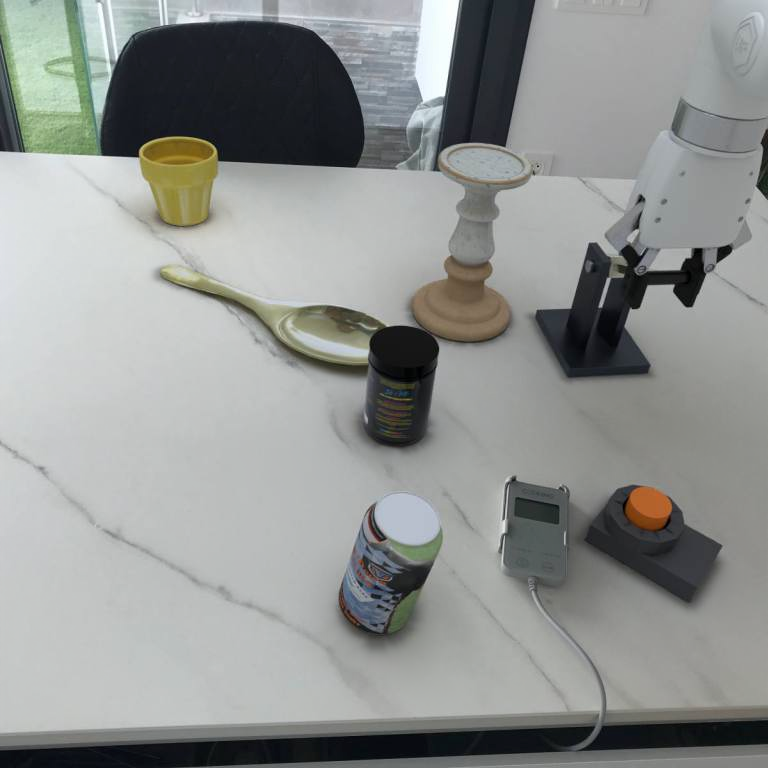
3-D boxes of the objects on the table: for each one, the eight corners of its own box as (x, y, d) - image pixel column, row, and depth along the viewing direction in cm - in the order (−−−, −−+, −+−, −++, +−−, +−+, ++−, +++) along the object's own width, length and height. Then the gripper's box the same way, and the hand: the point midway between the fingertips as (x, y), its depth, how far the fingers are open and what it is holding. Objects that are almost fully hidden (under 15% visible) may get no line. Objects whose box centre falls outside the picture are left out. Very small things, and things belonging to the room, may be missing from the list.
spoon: (135, 298, 97) (132, 284, 96) (193, 264, 105) (191, 250, 103) (373, 390, 83) (373, 374, 82) (420, 343, 91) (421, 328, 89)
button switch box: (715, 559, 70) (731, 530, 67) (688, 605, 66) (703, 576, 63) (614, 502, 74) (626, 473, 72) (583, 541, 70) (593, 512, 68)
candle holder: (505, 351, 92) (539, 193, 79) (403, 332, 93) (421, 175, 80) (512, 296, 101) (544, 148, 88) (420, 280, 103) (438, 132, 90)
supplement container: (434, 446, 78) (447, 365, 72) (369, 452, 77) (376, 370, 70) (419, 402, 83) (429, 323, 77) (357, 407, 82) (363, 327, 75)
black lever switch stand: (647, 373, 91) (682, 279, 82) (567, 377, 89) (595, 281, 81) (608, 314, 100) (636, 225, 92) (534, 317, 98) (556, 226, 90)
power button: (672, 514, 69) (678, 501, 68) (655, 538, 66) (662, 524, 65) (635, 493, 70) (640, 480, 69) (617, 516, 68) (623, 502, 67)
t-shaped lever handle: (690, 290, 77) (692, 265, 76) (643, 291, 76) (645, 266, 75) (626, 274, 89) (628, 253, 89) (586, 275, 88) (587, 254, 88)
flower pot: (178, 192, 117) (172, 129, 111) (235, 211, 114) (232, 146, 107) (131, 219, 109) (122, 153, 103) (191, 240, 106) (184, 172, 100)
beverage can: (336, 579, 65) (341, 480, 57) (422, 576, 66) (439, 479, 58) (339, 646, 60) (346, 548, 53) (432, 642, 61) (453, 545, 53)
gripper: (782, 110, 71) (714, 279, 83) (609, 108, 68) (563, 283, 80) (831, 143, 66) (750, 319, 77) (645, 142, 63) (590, 325, 74)
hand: (656, 299), depth 78 cm, fingers closed on t-shaped lever handle, 5 cm apart
